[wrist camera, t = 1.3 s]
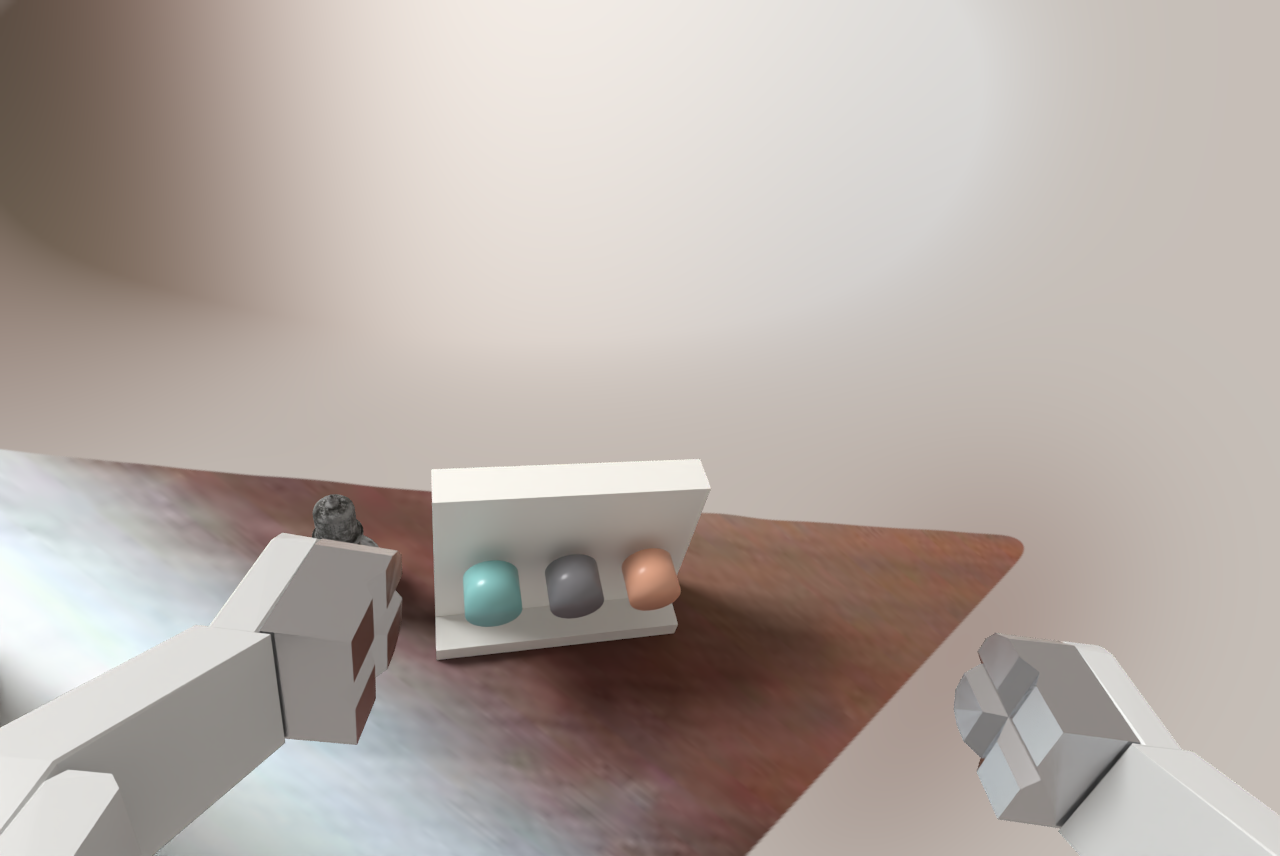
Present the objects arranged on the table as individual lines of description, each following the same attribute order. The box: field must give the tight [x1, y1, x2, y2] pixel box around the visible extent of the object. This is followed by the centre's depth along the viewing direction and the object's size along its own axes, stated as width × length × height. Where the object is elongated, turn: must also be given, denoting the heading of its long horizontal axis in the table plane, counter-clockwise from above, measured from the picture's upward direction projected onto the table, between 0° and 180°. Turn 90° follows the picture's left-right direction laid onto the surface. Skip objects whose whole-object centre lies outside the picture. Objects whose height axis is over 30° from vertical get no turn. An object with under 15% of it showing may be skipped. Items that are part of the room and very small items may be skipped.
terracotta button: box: [622, 548, 681, 611], centre depth 54 cm, size 4×3×4 cm
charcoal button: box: [545, 554, 604, 619], centre depth 52 cm, size 4×3×4 cm
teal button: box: [463, 560, 522, 627], centre depth 50 cm, size 4×3×4 cm
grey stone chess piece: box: [312, 495, 379, 548], centre depth 54 cm, size 6×6×12 cm
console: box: [431, 459, 711, 660], centre depth 55 cm, size 20×6×16 cm, turn 103°
